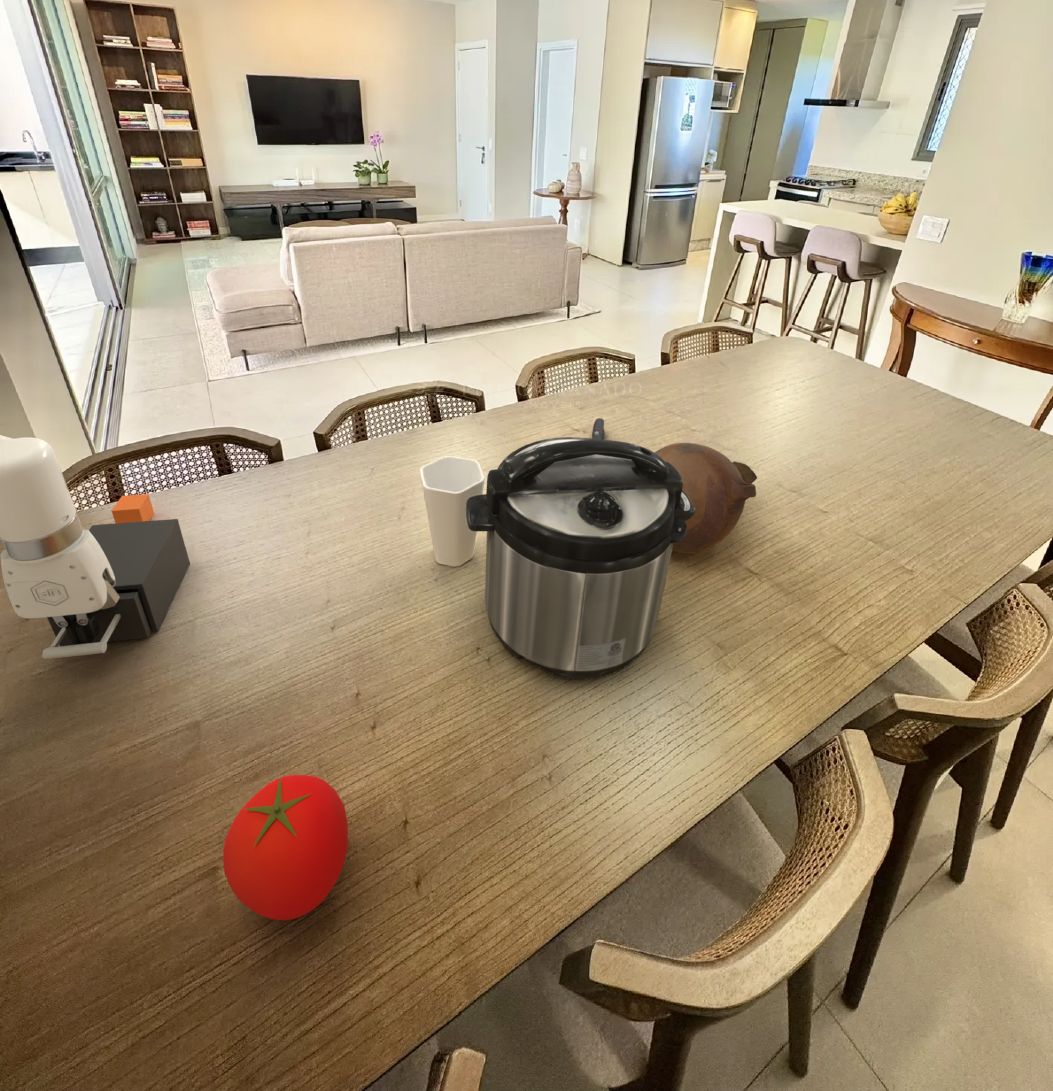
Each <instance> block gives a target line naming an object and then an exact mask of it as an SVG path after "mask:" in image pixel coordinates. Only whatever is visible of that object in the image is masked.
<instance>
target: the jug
mask: <svg viewBox="0 0 1053 1091" xmlns="http://www.w3.org/2000/svg"><path fill="white" fill-rule="evenodd" d="M653 452H654V453H656V454H657V455H659V456H660V457H661V458H662V459H663V460H664V461H665V462H669V463H670V464H671V465H672V466H674V467H675V469H676V470H677V471H678V472H679V473H680V475H681V477H682V481H683V488H682V490H683V491H684V492H685V494H686V495H687V496H688V497H689V499H690V500H691V502H692V504H693V506H694V508H695V514H694V515H693V516H692V517H691V518H690V519H688V520H686V521H685V522H686V524H687V530H686V534H685V537H684V539H683V540H682V541H681V542H676V543H673V548H672V552H673V551H674V552H677V553H681V554H682V553H683V554H696V553H701V552H704V551H706V550H709V549H711V548H712V547H715V546H716V545H717V544H719V543H720V542H721V541H723V540H724V539H725V538H726V537H728V535H729V534H730V533H731V532H732V531H733V530H734V529H735V528H736V525H737V524H738V523H739V520H740V518H741V516H742V514H743V511H744V508H745V505H746V502H747V500H748V499H750V498H755V497H756V496H757V488H756V487H757V486H756V485H755V484H753V483H754V482H755V481H756V480H757V479H758V476H757V474H756V473H755V472H754V471H753V470H752V469H751V467H750V466H749V465H747V464H746V463H743V462H739V461H734V460H733V461H732V460H730V458H728V456H726V455H724V454H723V453H722V452H720V451H718V450H717V449H714V448H712V447H710V446H706V445H704V444H699V443H694V442H693V443H692V442H676V443H671V444H668V445H665V446H663V447H661V448H659V449H658V450H656V451H653Z"/></svg>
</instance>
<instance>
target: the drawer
mask: <svg viewBox="0 0 1053 1091" xmlns="http://www.w3.org/2000/svg"><path fill="white" fill-rule="evenodd" d="M116 592H117V594H118V595H119V596H120V599H119V600H118V602H117V604H116V605H115V606H113V607H110V608H106V609H100V610H99V611H98V612H97V613H96V614H95V616H96V619H97V621H98V624H99V626H100V631H99V633H98V635H97V636H96V637H95V638H94V640H93V642H92V643H88V644H78V645H73V643H72V641H71V639H70V638H69V636H68V634H67V631H66V629H65V627H59V626H58V625H57V624H56V622H55V621H54V620H52V619H50V618H48V617H46V618H47V620H48V623H49V625H50V627H51V629H52V631H53V634H54V636H55V638H54V640H53V641H52V643H51V645H50V646H49V647H45V648H44V649H43V651H42V653H41V656H42V659H43V660H52V659H62V658H71V657H80V656H87V655H88V656H90V655H98V654H105V653H106V651H107V649H108V643H109V642H118V641H120V642H121V641H128V640H138V639H147V638H149V636H150V634H151V633H150V632H151V630H150V627H149V625H148V623H149V621H148V618H147V615H146V612H145V609H144V606H143V603H142V600H141V597H140V595H139V592H138V589H128V590H117V591H116Z"/></svg>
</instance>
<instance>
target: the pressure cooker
mask: <svg viewBox="0 0 1053 1091" xmlns="http://www.w3.org/2000/svg"><path fill="white" fill-rule="evenodd" d="M654 452H655V451H653V450H651V449H649V448H647V447H643V446H641V445H637V444H635V443H630V442H627V441H619V440H612V439H604V440H597V439H592V438H588V437H579V436H578V437H575V436H574V437H573V436H564V437H552V438H545V439H541V440H536V441H533V442H531V443H528V444H524V445H522V446H520V447H518V448H517V449H515V450H513V451H512V452H510V453H509V454H508V455H507V456H506V457H504V459H503V460H502V461H501V463H500V464H499V465H498V466H497V469H496V468H495V469H490V470H489V471H488V472H487V476H486V489H485V490H486V492H485V493H483V494H482V495H476V496H472V497H470V498H468V500H467V502H466V517H467V523H468V527H469V529H470V530H471V531H477V532H486V546H485V547H486V548H485V550H486V551H485V577H484V578H485V582H484V604H485V610H486V615H487V618H488V620H489V625H490V627H491V629H492V631H493V633H494V635H495V637H496V638H497V639H498V640H499V642H500V643H501V644H502V645H503V647H504V648H505V649H506V650H507V651H508V652H509V653H510V655H512V656H513V657H514V658H516V659H517V660H521V661H522V660H528V662H529V663H530V664H532V665H533V666H534V665H535V666H536V667H539V668H540V670H542V671H544V672H546V673H549V674H550V675H552V677H554V678H560V679H565V680H574V681H581V680H582V681H585V680H594V679H595V680H596V679H599V678H604V677H607V676H610V675H613V674H615V673H618V672H619V671H621V670H623V669H625V668H626V667H628V666H630V665H631V664H632V663H633V662H634V661H635V660H637V659H638V658H639V657H640V656H641V655H642V653H644V651H645V650H646V649H647V647H648V646H649V645H650V642H651V641H652V640H653V636H654V633H655V631H656V628H657V625H658V621H659V620H658V619H659V614H660V610H661V605H662V600H663V596H664V591H665V586H666V582H667V577H668V572H669V566H670V561H671V556H672V552H673V550H672V548H673V543H676V542H681V541H682V540H683V539H684V537H685V534H686V530H687V524H686V522H685V521H686V520H688V519H690V518H691V517H692V516H693V515H694V514H695V508H694V506H693V504H692V502H691V500H690V499H689V497H688V496H687V495H686V494H685V492H684V491H683V490H682V488H683V481H682V477H681V475H680V473H679V472H678V471H677V470H676V469H675V467H674V466H672V465H671V464H670V463H669V462H665V461H664V460H663V459H662V458H661V457H660V456H659V455H657V454H656V453H654Z"/></svg>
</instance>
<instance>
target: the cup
mask: <svg viewBox="0 0 1053 1091" xmlns="http://www.w3.org/2000/svg"><path fill="white" fill-rule="evenodd" d="M480 464H481V463H480V462H479V461H478V460H476V459H473V458H472V459H471V458H465V457H460V456H453V455H444V456H442V457H441V456H440V457H439V458H437V459H435V460H433V461H431V462H429V463H426V464H425V465H423V466H421V467H420V468H419V475H420V476H419V477H420V480H421V487H422V492H423V498H424V504H425V510H426V516H427V522H428V528H429V532H430V538H431V543H432V545H431V546H432V550H433V554H434V559H435V562H436V563H438V564H440V565H444V566H448V567H454V568H456V567H460V566H463V565H464V564H465V563H466V562H468V561H470V560H472V559H473V557H474V555H475V549H476V541H477V535H478V531H471V530H470V529H469V527H468V523H467V517H466V502H467V500H468V498H470V497H472V496H476V495H482V494H484V487H485V486H484V485H485V480H486V477H485V474H484V472H483V470H482V467H481V465H480Z"/></svg>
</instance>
